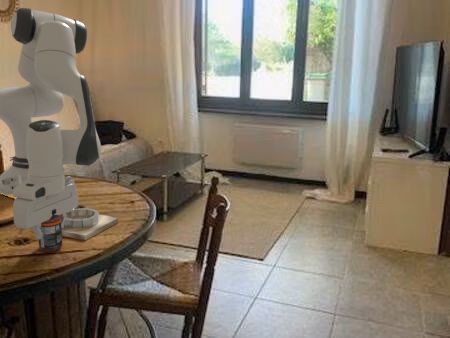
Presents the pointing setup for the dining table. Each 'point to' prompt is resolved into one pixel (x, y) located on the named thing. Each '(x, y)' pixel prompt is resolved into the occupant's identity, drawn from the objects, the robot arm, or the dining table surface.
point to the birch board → (90, 228)
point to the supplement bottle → (51, 233)
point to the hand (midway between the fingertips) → (50, 233)
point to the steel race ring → (81, 223)
